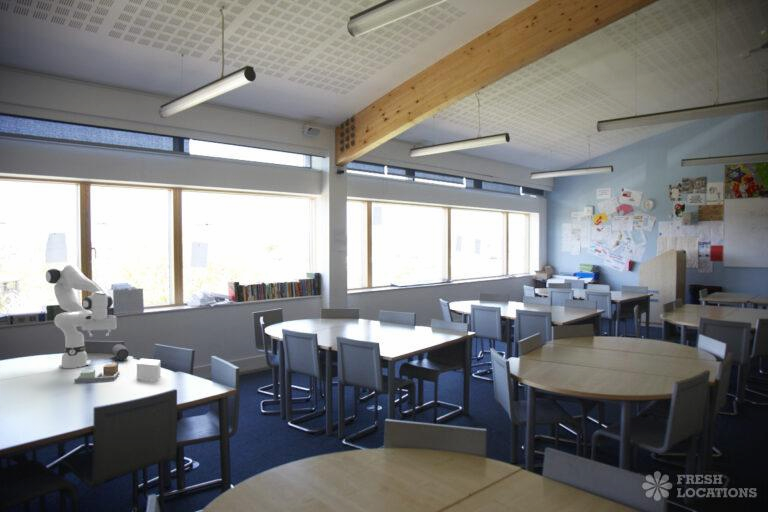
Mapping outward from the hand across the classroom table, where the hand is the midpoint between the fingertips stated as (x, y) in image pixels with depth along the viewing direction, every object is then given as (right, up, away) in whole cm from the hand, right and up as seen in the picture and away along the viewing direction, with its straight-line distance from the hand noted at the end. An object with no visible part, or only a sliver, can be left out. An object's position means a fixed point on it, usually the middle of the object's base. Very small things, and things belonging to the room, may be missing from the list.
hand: (99, 336), depth 316 cm
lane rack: (+9, -24, -16) cm, 30 cm away
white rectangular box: (+39, -25, -12) cm, 48 cm away
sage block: (+5, -24, -20) cm, 32 cm away
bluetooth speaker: (-9, -24, +42) cm, 49 cm away
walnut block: (+9, -24, -1) cm, 26 cm away
